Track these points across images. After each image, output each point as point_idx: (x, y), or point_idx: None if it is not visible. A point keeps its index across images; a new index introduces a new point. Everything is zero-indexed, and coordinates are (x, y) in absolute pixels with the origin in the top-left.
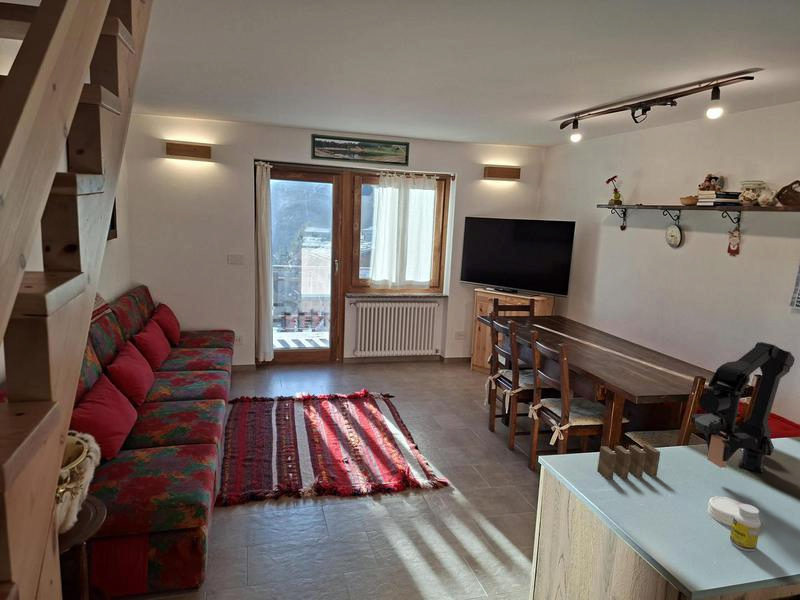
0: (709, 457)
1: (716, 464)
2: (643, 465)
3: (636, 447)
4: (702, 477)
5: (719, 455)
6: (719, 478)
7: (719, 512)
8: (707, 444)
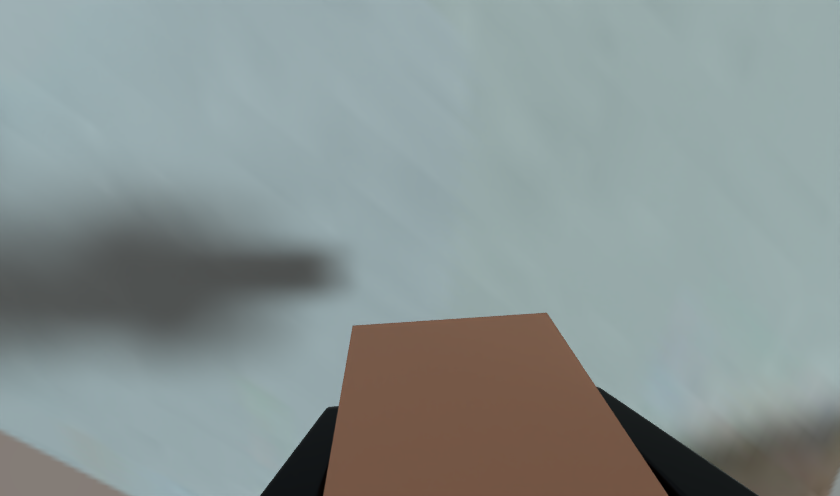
0: (534, 338)
1: (412, 326)
2: None
3: None
4: (490, 216)
5: (391, 428)
6: None
7: None
8: (704, 465)
